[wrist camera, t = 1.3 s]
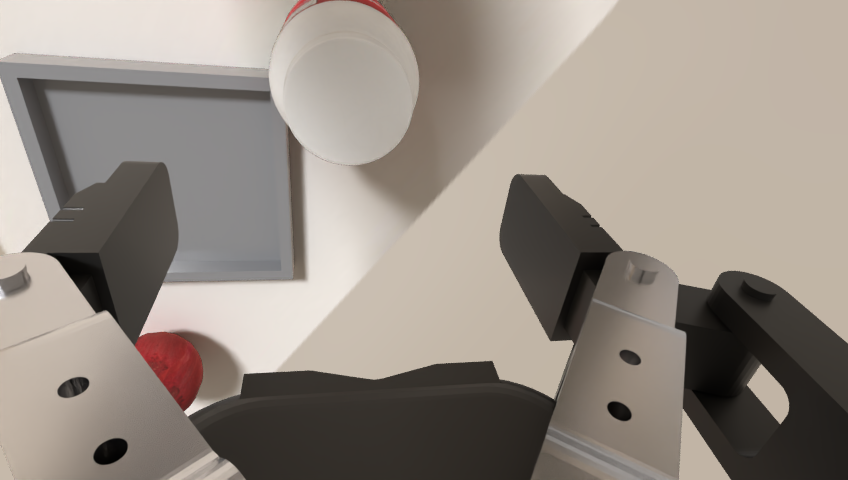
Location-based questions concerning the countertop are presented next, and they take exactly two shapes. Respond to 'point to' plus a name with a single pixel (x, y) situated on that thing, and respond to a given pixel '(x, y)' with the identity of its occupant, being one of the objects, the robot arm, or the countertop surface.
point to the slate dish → (166, 150)
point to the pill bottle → (344, 79)
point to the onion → (173, 364)
